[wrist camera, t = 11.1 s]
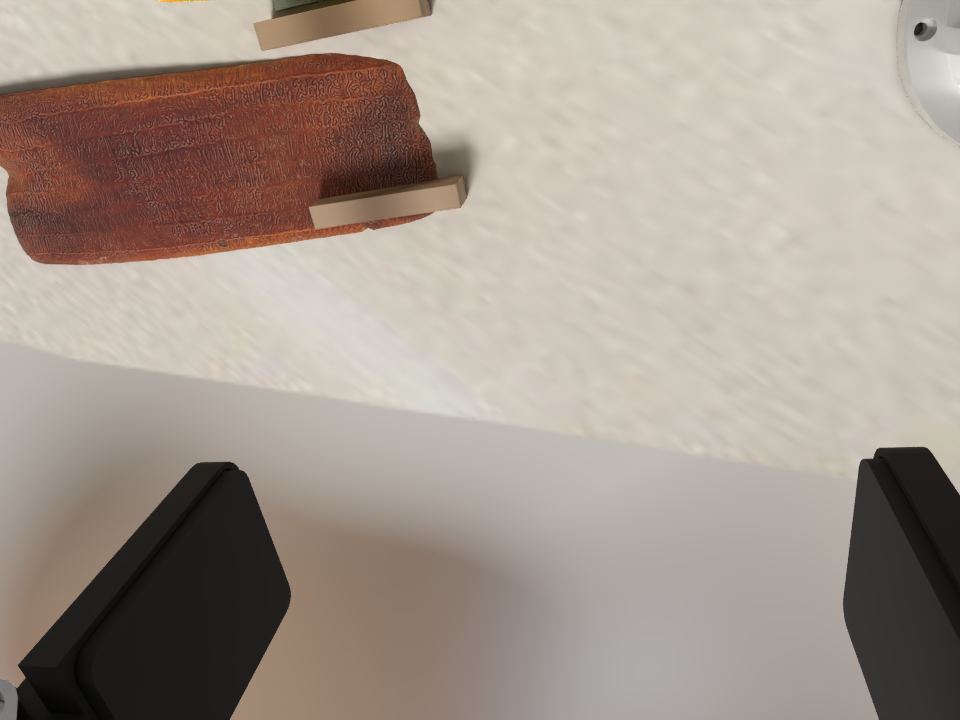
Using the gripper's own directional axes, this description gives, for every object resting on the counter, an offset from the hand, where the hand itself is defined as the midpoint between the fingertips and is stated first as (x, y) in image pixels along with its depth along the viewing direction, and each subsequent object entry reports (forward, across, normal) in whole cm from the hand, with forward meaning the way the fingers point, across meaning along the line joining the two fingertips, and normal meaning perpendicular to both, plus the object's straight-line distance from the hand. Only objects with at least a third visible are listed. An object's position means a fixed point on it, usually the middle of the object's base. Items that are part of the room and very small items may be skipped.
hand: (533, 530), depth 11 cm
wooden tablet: (+28, +21, -2) cm, 35 cm away
